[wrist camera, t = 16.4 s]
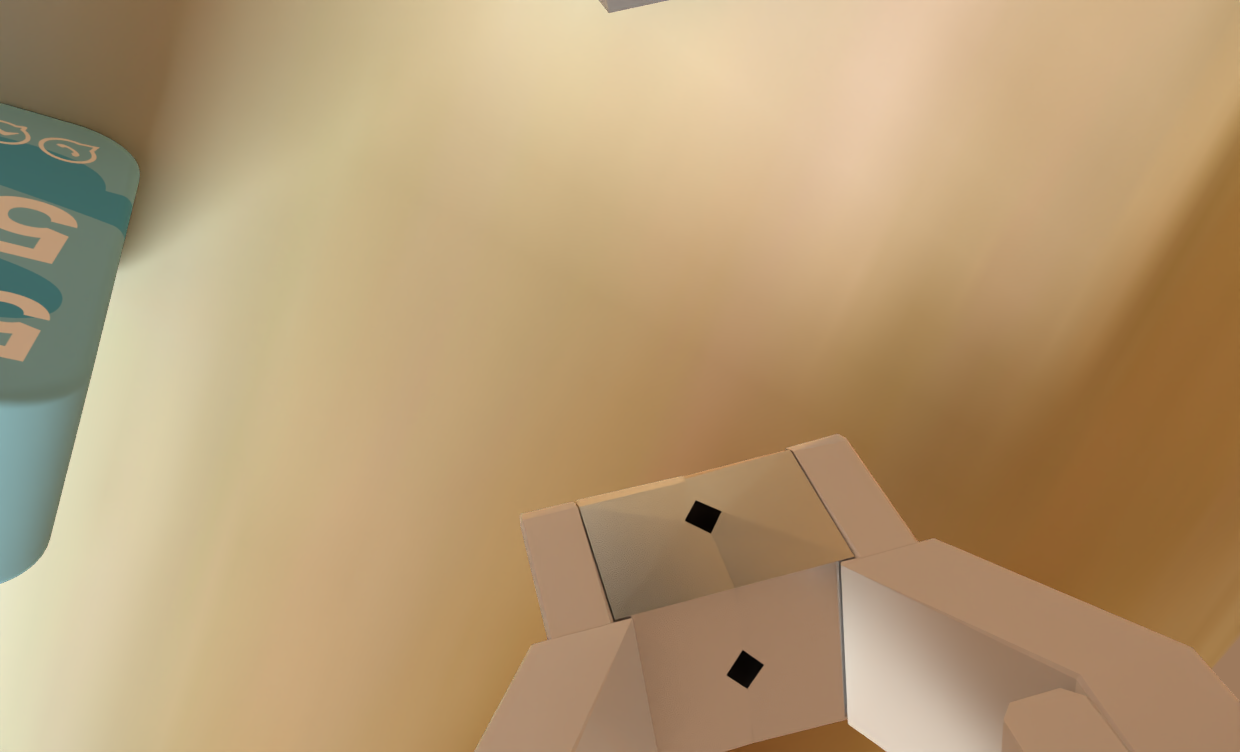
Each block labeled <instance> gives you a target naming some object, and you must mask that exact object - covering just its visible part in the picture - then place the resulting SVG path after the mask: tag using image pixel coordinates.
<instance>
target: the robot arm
mask: <svg viewBox="0 0 1240 752" xmlns="http://www.w3.org/2000/svg"><path fill="white" fill-rule="evenodd" d="M520 525H521V530H522V534H523V538H524V542H525V546H526V551H527V555H528V559H529V563H530V567H531V572H532V576H533V580H534V584H535V588H536V593H537V597H538V601H539V605H540V610H541V614H542V618H543V622H544V626H545V631H546V635H547V639H548V640H546V641H543V642H539V643H535V644H532V645H531V646H530V648H529V650H528V652H527V654H526V656H525V658H524V659H523V661H522V663H521V665H520V667H519V669H518V671H517V672H516V674H515V676H514V678H513V680H512V682H511V684H510V685H509V687H508V689H507V691H506V693H505V695H504V697H503V698H502V700H501V702H500V704H499V706H498V708H497V710H496V712H495V713H494V715H493V717H492V719H491V721H490V723H489V725H488V726H487V728H486V730H485V732H484V734H483V736H482V738H481V739H480V741H479V743H478V745H477V747H476V749H475V751H474V752H726V751H729V750H732V749H736V748H739V747H742V746H745V745H748V744H752V743H753V742H754V743H756V742H760V741H764V740H767V739H771V738H775V737H779V736H783V735H787V734H791V733H795V732H799V731H803V730H807V729H811V728H815V727H819V726H823V725H827V724H831V723H835V722H839V721H843V720H847V719H848V724H849V725H850V726H852V727H853V728H854V729H856V730H857V731H859V732H860V733H861V734H863V735H864V736H866V737H867V738H868V739H870V740H871V741H873V742H874V743H875V744H877V745H878V746H880V747H881V748H882V749H884V750H885V751H887V752H1240V701H1239V700H1238V699H1237V698H1236V696H1235V695H1234V694H1233V693H1232V692H1231V691H1230V690H1229V689H1228V687H1227V686H1226V685H1225V684H1224V683H1223V682H1222V681H1221V679H1220V678H1219V677H1218V676H1217V675H1216V674H1215V673H1214V672H1213V670H1212V669H1211V668H1210V667H1209V666H1208V665H1207V664H1206V663H1205V661H1204V660H1203V659H1202V658H1201V657H1200V656H1199V655H1198V654H1197V652H1196V651H1195V650H1194V649H1193V648H1192V647H1190V646H1187V645H1185V644H1183V643H1180V642H1178V641H1176V640H1173V639H1171V638H1168V637H1166V636H1164V635H1161V634H1159V633H1157V632H1154V631H1152V630H1150V629H1147V628H1145V627H1143V626H1140V625H1138V624H1135V623H1133V622H1131V621H1128V620H1126V619H1124V618H1121V617H1119V616H1117V615H1114V614H1112V613H1110V612H1107V611H1105V610H1102V609H1100V608H1098V607H1095V606H1093V605H1091V604H1088V603H1086V602H1084V601H1081V600H1079V599H1076V598H1074V597H1072V596H1069V595H1067V594H1065V593H1062V592H1060V591H1058V590H1055V589H1053V588H1051V587H1048V586H1046V585H1043V584H1041V583H1039V582H1036V581H1034V580H1032V579H1029V578H1027V577H1025V576H1022V575H1020V574H1018V573H1015V572H1013V571H1010V570H1008V569H1006V568H1003V567H1001V566H999V565H996V564H994V563H992V562H989V561H987V560H984V559H982V558H980V557H977V556H975V555H973V554H970V553H968V552H966V551H963V550H961V549H959V548H956V547H954V546H951V545H949V544H947V543H944V542H942V541H940V540H937V539H935V538H932V539H928V540H925V541H921V542H918V541H917V539H916V538H915V536H914V535H913V533H912V532H911V531H910V529H909V528H908V526H907V525H906V523H905V522H904V521H903V519H902V518H901V516H900V515H899V513H898V512H897V510H896V509H895V508H894V506H893V505H892V503H891V502H890V500H889V499H888V498H887V496H886V495H885V493H884V492H883V490H882V489H881V487H880V486H879V485H878V483H877V482H876V480H875V479H874V477H873V476H872V475H871V473H870V472H869V470H868V469H867V467H866V466H865V464H864V463H863V462H862V460H861V459H860V457H859V456H858V454H857V453H856V451H855V450H854V449H853V447H852V446H851V444H850V443H849V441H848V440H847V439H846V438H845V437H843V436H841V435H839V434H835V435H831V436H827V437H824V438H820V439H817V440H813V441H810V442H806V443H802V444H799V445H795V446H792V447H788V448H786V450H784V451H779V452H775V453H771V454H767V455H764V456H760V457H756V458H752V459H748V460H744V461H740V462H736V463H733V464H729V465H725V466H721V467H717V468H713V469H709V470H705V471H701V472H698V473H694V474H690V475H686V476H679V477H675V478H671V479H666V480H662V481H658V482H653V483H649V484H644V485H640V486H636V487H631V488H627V489H623V490H618V491H614V492H609V493H605V494H601V495H596V496H592V497H588V498H583V499H579V500H576V505H575V503H573V502H568V503H564V504H560V505H556V506H551V507H547V508H543V509H539V510H535V511H531V512H526V513H522V514H520Z"/></svg>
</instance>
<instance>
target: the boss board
mask: <svg viewBox="0 0 1240 752" xmlns="http://www.w3.org/2000/svg"><path fill="white" fill-rule="evenodd" d="M599 1H600V2H601V4H602V5H603V6H604V7H605V9H606V10H607V11H608V13H611V12H616V11H620V10H625V9H630V8H634V7H639V6H644V5H648V4H653V3H658V2H662V1H667V0H599Z"/></svg>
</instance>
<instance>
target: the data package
mask: <svg viewBox="0 0 1240 752" xmlns="http://www.w3.org/2000/svg"><path fill="white" fill-rule="evenodd" d="M139 180H140V170H139V166H138V164H137V162H136V160H135V159H134V158H133V156H132V155H131V154H130V153H129V152H128V151H127V150H126V149H125V148H123V147H122V146H121V145H119V144H118V143H116V142H115V141H113V140H111V139H110V138H108V137H106V136H104V135H102V134H100V133H97V132H95V131H93V130H90V129H87V128H85V127H82V126H79V125H75V124H72V123H69V122H65V121H62V120H58V119H55V118H51V117H48V116H44V115H41V114H37V113H34V112H30V111H27V110H23V109H20V108H16V107H13V106H10V105H6V104H3V103H0V584H1V583H4V582H6V581H8V580H11V579H13V578H15V577H17V576H19V575H20V574H22V573H23V572H25V571H26V570H28V569H29V568H30V567H31V566H32V565H34V564H35V563H36V562H37V561H38V559H39V558H40V557H41V556H42V554H43V553H44V551H45V550H46V548H47V546H48V543H49V540H50V537H51V533H52V529H53V525H54V521H55V517H56V513H57V509H58V505H59V501H60V497H61V493H62V489H63V485H64V481H65V478H66V474H67V470H68V466H69V462H70V458H71V454H72V450H73V446H74V442H75V438H76V434H77V430H78V426H79V422H80V418H81V414H82V410H83V406H84V402H85V399H86V395H87V391H88V387H89V383H90V379H91V375H92V371H93V367H94V363H95V359H96V355H97V351H98V346H99V342H100V338H101V334H102V330H103V326H104V322H105V318H106V314H107V310H108V306H109V302H110V298H111V294H112V290H113V285H114V281H115V277H116V273H117V269H118V265H119V261H120V257H121V253H122V249H123V245H124V241H125V237H126V233H127V229H128V225H129V220H130V216H131V212H132V208H133V204H134V200H135V196H136V192H137V188H138V184H139Z"/></svg>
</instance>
